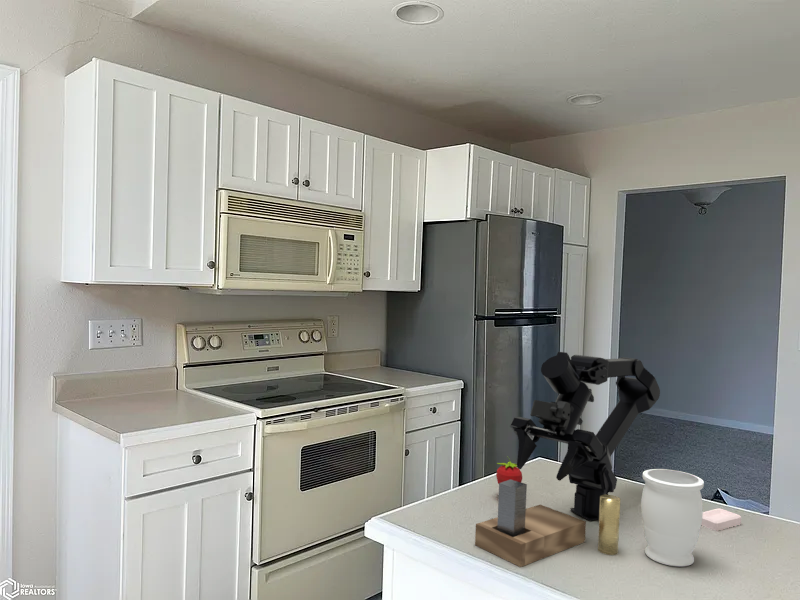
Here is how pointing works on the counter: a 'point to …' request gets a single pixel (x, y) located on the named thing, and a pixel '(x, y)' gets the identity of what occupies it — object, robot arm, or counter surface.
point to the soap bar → (720, 519)
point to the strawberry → (508, 472)
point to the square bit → (512, 508)
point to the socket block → (532, 536)
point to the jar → (671, 515)
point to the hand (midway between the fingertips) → (537, 473)
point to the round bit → (609, 524)
